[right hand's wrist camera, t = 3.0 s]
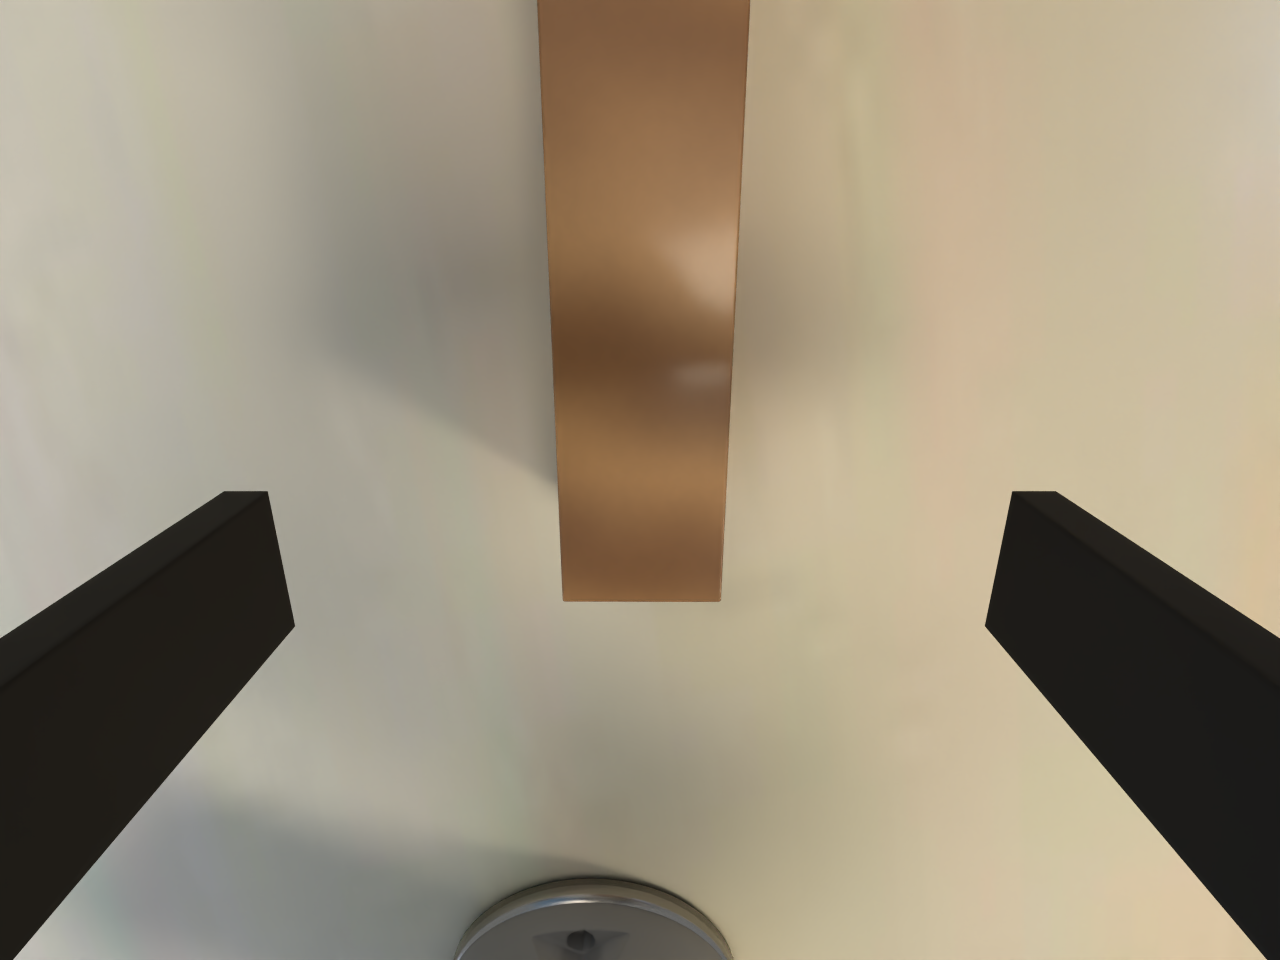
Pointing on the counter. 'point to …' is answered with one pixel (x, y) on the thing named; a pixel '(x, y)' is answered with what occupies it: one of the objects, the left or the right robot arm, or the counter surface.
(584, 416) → the beam
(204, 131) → the counter surface
